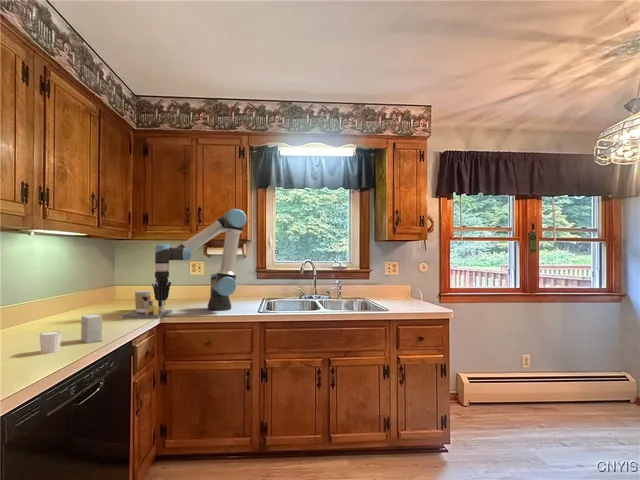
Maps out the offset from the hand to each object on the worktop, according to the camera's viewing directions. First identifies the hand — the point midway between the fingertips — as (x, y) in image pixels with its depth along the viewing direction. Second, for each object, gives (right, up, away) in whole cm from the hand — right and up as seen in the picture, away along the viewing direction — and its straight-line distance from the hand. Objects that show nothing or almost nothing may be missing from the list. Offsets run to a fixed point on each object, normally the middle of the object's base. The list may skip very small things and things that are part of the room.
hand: (161, 311), depth 215 cm
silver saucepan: (-7, -1, +2) cm, 8 cm away
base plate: (-9, -3, +4) cm, 11 cm away
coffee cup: (-20, -3, +20) cm, 29 cm away
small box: (-6, -2, -56) cm, 57 cm away
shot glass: (-11, -1, -73) cm, 74 cm away
